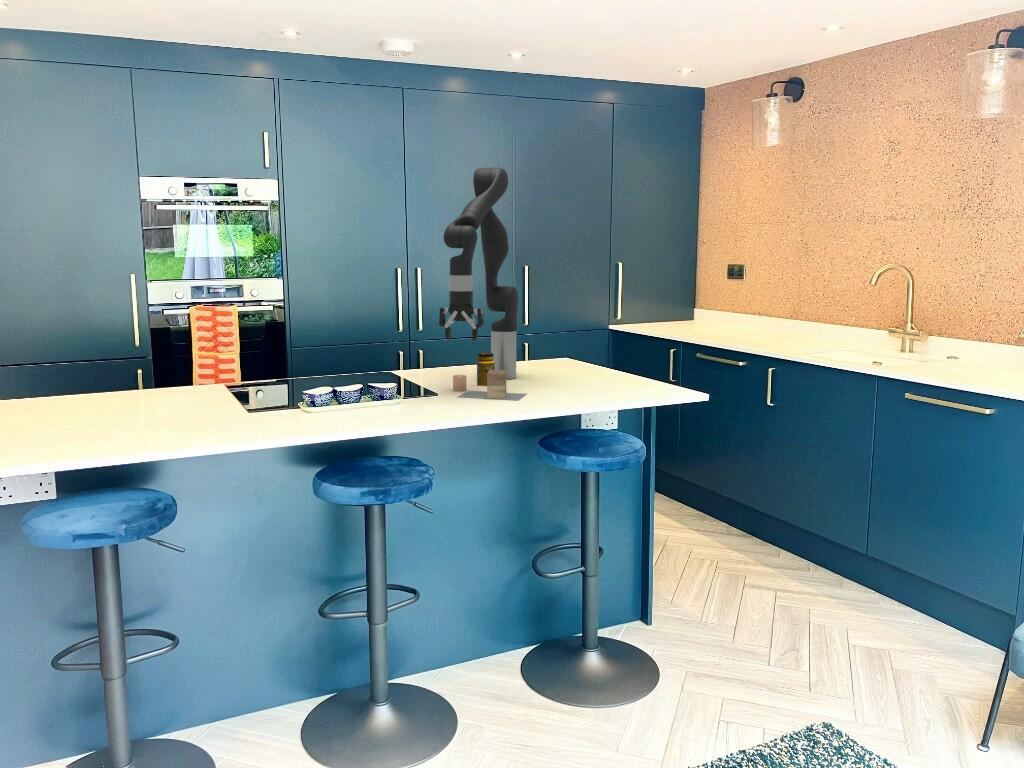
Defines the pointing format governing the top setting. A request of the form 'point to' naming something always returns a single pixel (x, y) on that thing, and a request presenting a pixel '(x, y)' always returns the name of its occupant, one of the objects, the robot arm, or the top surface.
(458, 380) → the pink cylinder
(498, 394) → the block base
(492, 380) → the block top
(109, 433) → the top surface
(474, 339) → the robot arm
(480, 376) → the condiment
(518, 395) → the board
